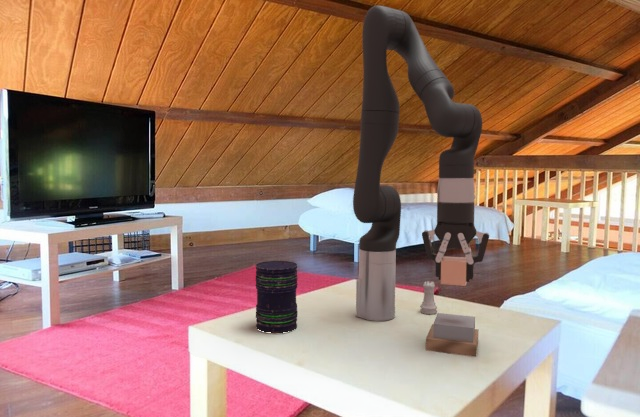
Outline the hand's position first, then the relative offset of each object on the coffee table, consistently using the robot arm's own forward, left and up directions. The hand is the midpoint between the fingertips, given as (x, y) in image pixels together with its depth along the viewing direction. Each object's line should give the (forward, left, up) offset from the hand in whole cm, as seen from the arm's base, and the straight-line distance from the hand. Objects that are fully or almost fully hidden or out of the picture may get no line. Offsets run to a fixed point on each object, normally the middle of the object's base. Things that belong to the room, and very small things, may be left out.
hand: (454, 279), depth 102 cm
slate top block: (0, 0, -12) cm, 12 cm away
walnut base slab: (0, 0, -15) cm, 15 cm away
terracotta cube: (0, 0, 0) cm, 0 cm away
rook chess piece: (-8, +22, -14) cm, 27 cm away
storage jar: (-40, -3, -14) cm, 43 cm away
